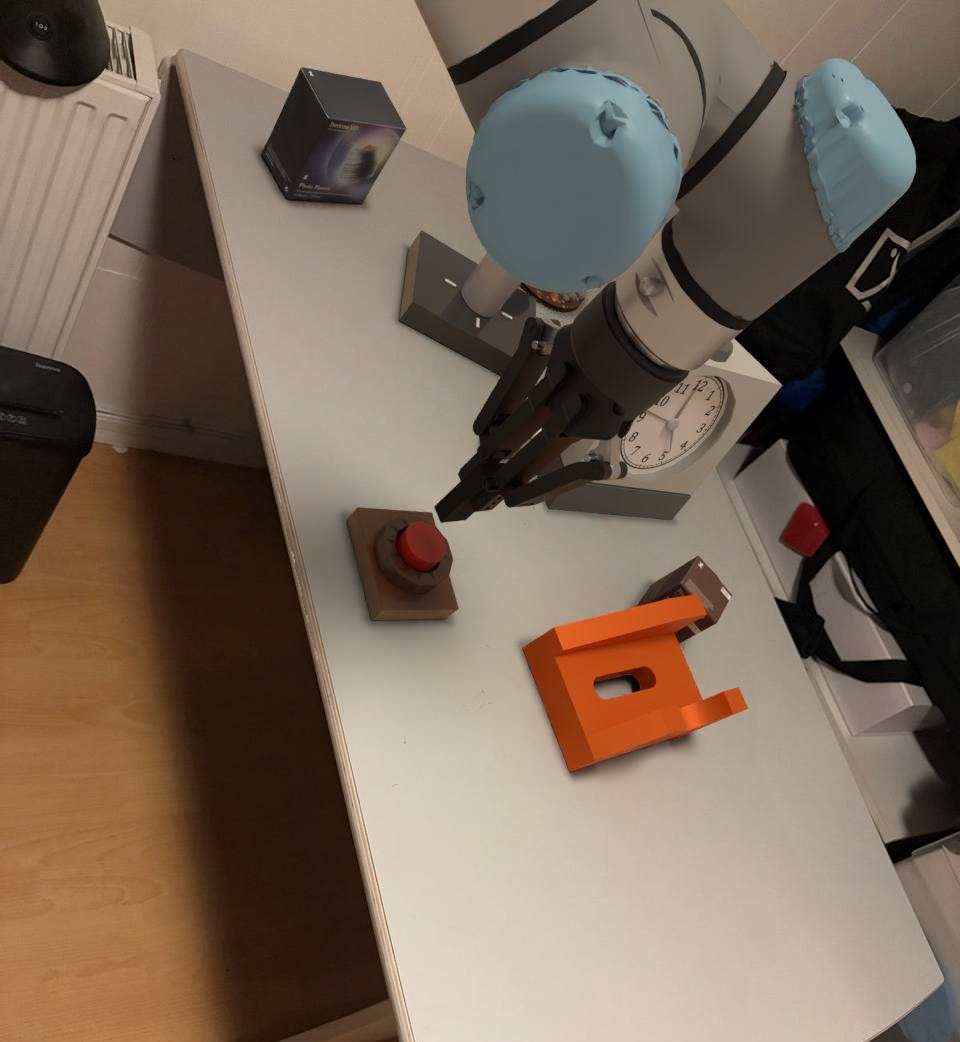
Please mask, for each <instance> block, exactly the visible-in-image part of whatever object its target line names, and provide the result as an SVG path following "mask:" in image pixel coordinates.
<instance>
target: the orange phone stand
mask: <svg viewBox="0 0 960 1042" xmlns="http://www.w3.org/2000/svg"><path fill="white" fill-rule="evenodd" d="M705 615H707V614H706V611H705V609H704V607H703V604H702V602H701V600H700V598H699V595H698V594H696V595H689V596H682V597H676V598H669V599H665V600H661V601H657V602H653V603H649V604H645V605H641V606H638V605H636V606H634V607H630V608H625V609H621V610H617V611H614V612H610V613H604V614H601V615H598V616H593V617H590V618H585V619H581V620H577V621H574V622H569V623H566V624H562V625H557V626H554V627H552V628H551V629H548V630H547V631H545V632H544V633H543V634H541V635H540V636H538V637H536V638H535V639H533V640H532V641H531V642H529V643H527V644H526V645H525V646H523V647H522V650H523V653H524V656H525V658H526V661H527V663H528V666H529V669H530V671H531V674H532V676H533V679H534V682H535V684H536V687H537V690H538V693H539V695H540V698H541V700H542V703H543V705H544V708H545V711H546V714H547V716H548V719H549V722H550V723H551V727H552V729H553V731H554V734H555V737H556V740H557V742H558V745H559V748H560V751H561V753H562V756H563V757H564V760H565V763H566V765H567V769H568V771H569V772H571V773H572V772H573V771H576V770H581V769H583V768H587V767H590V766H592V765H594V764H597V763H599V762H601V761H605V760H608V759H611V758H615V757H618V756H620V755H624V754H626V753H630V752H634V751H636V750H639V749H642V748H646V747H649V746H652V745H655V744H659V743H661V742H664V741H667V740H673V739H677V738H679V737H682V736H683V737H684V736H685V735H688V734H691V733H693V732H696V731H698V730H700V729H704V728H706V727H708V726H710V725H712V724H715V723H717V722H720V721H722V720H724V719H727V718H730V717H732V716H734V715H736V714H739V713H741V712H744V711H746V710H749V707H748V704H747V703H746V700H745V698H744V696H743V693H742V691H741V689H740V687H739V686H737V687H734V688H730V689H727V690H723V691H721V692H718V693H716V694H713V695H712V696H709V697H707V698H704V699H703V696H702V694H701V691H700V690H699V687H698V685H697V683H696V680H695V678H694V675H693V673H692V671H691V668H690V666H689V663H688V662H687V659H686V657H685V654H684V651H683V650H682V647H681V645H680V643H678V640H677V638H676V636H675V633H674V632H676V631H678V630H680V629H682V628H684V627H685V626H687V625H689V624H691V623H693V622H694V621H696V620H698V619H700V618H702V617H704V616H705ZM627 675H630V676H632V677H634V678H635V679H636V680H637V682H638V684H639V688H640V689H639V691H635V692H630V693H627V694H626V693H625V694H621V695H619V696H614V697H610V698H602V697H600V696H599V694H597V692H596V690H595V687H594V683H598V682H602V681H606V680H610V679H615V678H619V677H623V676H627Z"/></svg>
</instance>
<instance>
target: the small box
mask: <svg viewBox="0 0 960 1042" xmlns="http://www.w3.org/2000/svg"><path fill="white" fill-rule="evenodd" d="M404 123H405V122H404V121H403V119H402V117H401V116H400V114H399V112H398V110H397V108H396V106H395V105H394V103H393V101H392V99H391V98H390V96H389V95H388V92H387V91H386V89H385V87H384V85H383V83H382V82H381V81H377V80H372V79H367V78H362V77H356V76H351V75H345V74H340V73H335V72H329V71H323V70H320V69H319V70H318V69H314V68H310V67H309V68H308V67H304V66H301V67H300V68H299V70H298V73H297V76H296V78H295V80H294V82H293V85H292V86H291V89H290V91H289V93H288V96H287V97H286V100H285V102H284V104H283V106H282V109H281V110H280V112H279V115H278V117H277V119H276V122H275V124H274V126H273V129H272V130H271V133H270V135H269V136H268V139H267V141H266V142H265V145H264V147H263V149H262V150H261V155H262V158H264V160H265V161H266V164H267V165H268V167H269V169H270V171H271V172H272V175H273V177H274V178H275V180H276V182H277V183H278V186H279V187H280V189H281V191H282V193H283V194H284V196H285V197H286V199H288V200H302V201H303V200H304V201H317V202H333V203H347V204H359V205H360V204H361V205H362V204H363V203H364V202H365V200H366V198H367V197H368V195H369V193H370V191H371V190H372V188H373V186H374V185H375V183H376V181H377V180H378V178H379V176H380V174H381V173H382V171H383V169H384V168H385V166H386V165H387V163H388V162H389V161H388V160H389V159H390V158H391V156H392V154H393V153H394V151H395V149H396V148H397V146H398V144H399V143H400V141H401V139H402V137H403V135H404V134H405V132H406V131H407V126H406V124H404Z"/></svg>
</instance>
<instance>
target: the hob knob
mask: <svg viewBox="0 0 960 1042" xmlns="http://www.w3.org/2000/svg"><path fill="white" fill-rule="evenodd" d="M477 264H478V266H477V267H476V268H475V269H474V271H473V272H472V273H471V275H470V276H469V277H468V279H467V280H466V281H465V283H464V284H463V285H462V288H461V293H462V296H463V299H464V301H465V302H466V304H467V305H468V306H469V307H470V308H471V309H472V310H473V311H474V312H476V313H477V314H479V315H481V316H483V317H493V316H494V315H495V314H496V313H497V312H498V311H499V310H500V308H501V307H502V306H503V305H504V304H505V302H506V301H507V300H508V299H509V297H510V296H511V295H512V294H513V293H514V291H515V290H516V289H517V288H518V289H519V287H520V284H521V283H522V282H521V281H519V280H517V279H516V278H514V277H513V276H511V275H510V274H508V273H507V272H506V271H505V270H504V269H502V268H501V267H500V266H499V265H498V264H497V263H496V262H495V261H494V260H493V259H492V258H491V256H490V255H489V254H488V253H487V252H486V253H485V255H484V256H483V258H481V260H480V262H479V263H477Z"/></svg>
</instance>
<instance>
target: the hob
mask: <svg viewBox="0 0 960 1042" xmlns="http://www.w3.org/2000/svg"><path fill="white" fill-rule="evenodd" d="M478 264H479V263H477V262H475V261H474V260H472V259H471V258H469V257H467V256H466V255H464V254H462V253H460V252H458V251H457V250H456V249H454V248H452V247H450V246H449V245H447V244H446V243H444V242H443V241H441V240H439V239H438V238H435V237H434V236H432V235H431V234H429V233H427V232H426V231H424V230H420V231H419V233H418V234H417V235H416V238H415V239H414V240H413V242H412V243H411V245H410V247H409V248H408V253H407V260H406V267H405V275H404V282H403V289H402V297H401V305H400V313H399V322H401V323H402V324H404V325H406V326H408V327H410V328H412V329H414V330H416V331H418V332H419V333H421V334H423V335H425V336H427V337H429V338H431V339H432V340H434V341H436V342H438V343H439V344H441V345H444V346H446V347H447V348H449V349H451V350H453V351H455V352H457V353H459V354H460V355H462V356H463V357H466V358H468V359H469V360H471V361H473V362H475V363H477V364H479V365H480V366H483V367H484V368H486V369H488V370H490V371H491V372H494V373H495V374H497V375H499V376H501V375H502V374H503V372H504V370H505V369H506V367H507V365H508V364H509V362H510V360H511V359H512V357H513V355H514V353H515V352H516V350H517V348H518V346H519V343H520V339H521V336H522V332H523V328H524V325H525V322H526V320H527V319H528V318H529V317H537V300H536V299H535V298H533V297H532V296H530V295H529V294H528V293H527V292H526V291H523V290H522V289H520V288H519V287H518V288H517V289H516V290H515V291H514V293H513V294H512V295H511V296H510V297H509V299H508V300H507V301H506V302H505V304H504V305H503V306H502V307H501V308H500V310H499V311H498V312H497V313H496V314H495V315H494V316H493V317H483V316H481V315H479V314H477V313H476V312H474V311H473V310H472V309H471V308H470V307H469V306H468V305H467V304H466V302H465V301H464V299H463V296H462V293H461V288H462V285H463V284H464V283H465V281H466V280H467V279H468V277H469V276H470V275H471V273H472V272H473V271H474V269H475V268H476V267H477V266H478Z"/></svg>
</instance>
